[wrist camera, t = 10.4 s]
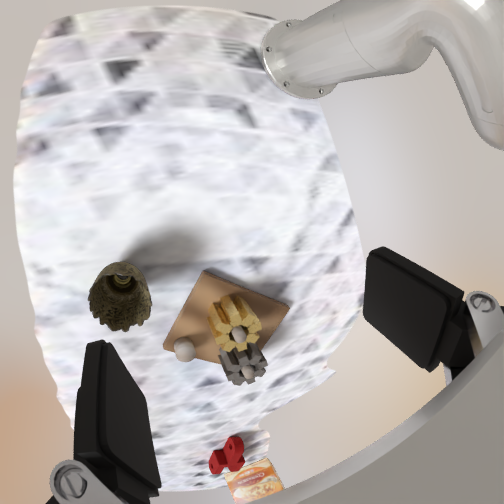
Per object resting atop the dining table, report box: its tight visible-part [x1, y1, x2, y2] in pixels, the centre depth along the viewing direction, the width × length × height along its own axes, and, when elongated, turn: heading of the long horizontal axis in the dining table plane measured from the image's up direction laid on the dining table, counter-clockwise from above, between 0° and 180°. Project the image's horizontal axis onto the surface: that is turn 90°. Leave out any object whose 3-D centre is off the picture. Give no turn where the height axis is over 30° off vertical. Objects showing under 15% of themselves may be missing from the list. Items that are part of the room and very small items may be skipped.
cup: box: [88, 262, 152, 332], centre depth 31 cm, size 8×7×8 cm
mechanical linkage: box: [209, 437, 245, 474], centre depth 57 cm, size 16×7×5 cm, turn 161°
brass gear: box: [207, 295, 262, 352], centre depth 40 cm, size 7×7×5 cm
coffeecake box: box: [224, 458, 285, 504], centre depth 60 cm, size 15×7×20 cm, turn 105°
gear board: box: [163, 271, 290, 386], centre depth 41 cm, size 14×16×7 cm
